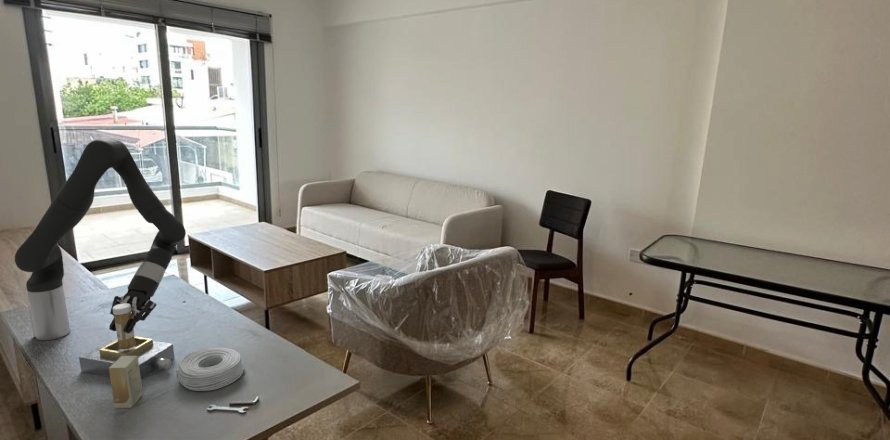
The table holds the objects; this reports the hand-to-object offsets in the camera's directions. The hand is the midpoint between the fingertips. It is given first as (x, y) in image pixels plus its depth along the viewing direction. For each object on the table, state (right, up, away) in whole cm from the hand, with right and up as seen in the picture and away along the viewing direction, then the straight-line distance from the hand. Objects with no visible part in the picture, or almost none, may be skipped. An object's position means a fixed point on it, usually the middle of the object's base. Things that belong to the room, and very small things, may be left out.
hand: (119, 331), depth 142 cm
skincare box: (+11, -16, -13) cm, 24 cm away
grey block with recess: (+2, -12, +4) cm, 13 cm away
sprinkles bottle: (0, -6, +3) cm, 7 cm away
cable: (+27, -14, +1) cm, 31 cm away
